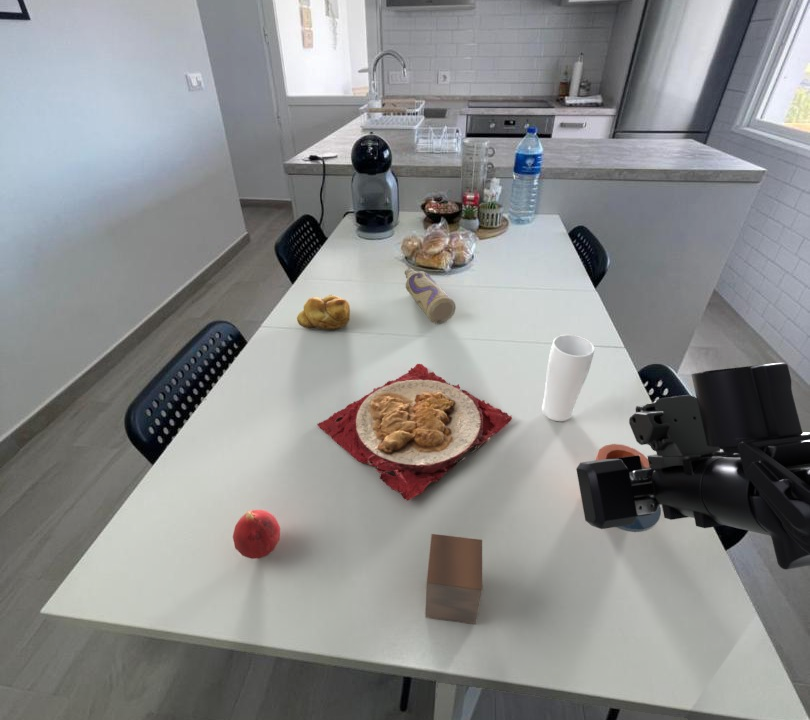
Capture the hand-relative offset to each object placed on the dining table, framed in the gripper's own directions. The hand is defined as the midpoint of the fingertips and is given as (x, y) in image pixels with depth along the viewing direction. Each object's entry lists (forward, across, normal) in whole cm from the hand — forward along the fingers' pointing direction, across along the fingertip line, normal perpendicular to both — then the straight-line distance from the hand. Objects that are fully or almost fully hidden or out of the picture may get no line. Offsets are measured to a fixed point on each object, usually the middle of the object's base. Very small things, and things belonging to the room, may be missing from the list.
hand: (624, 476), depth 53 cm
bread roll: (+55, +36, -36) cm, 75 cm away
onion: (+14, +45, +5) cm, 48 cm away
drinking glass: (+28, -6, -8) cm, 30 cm away
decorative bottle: (+60, +9, -41) cm, 74 cm away
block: (+7, +21, +12) cm, 26 cm away
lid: (+1, 0, +3) cm, 3 cm away
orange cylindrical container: (+14, -5, +5) cm, 16 cm away
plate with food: (+28, +21, -9) cm, 36 cm away
